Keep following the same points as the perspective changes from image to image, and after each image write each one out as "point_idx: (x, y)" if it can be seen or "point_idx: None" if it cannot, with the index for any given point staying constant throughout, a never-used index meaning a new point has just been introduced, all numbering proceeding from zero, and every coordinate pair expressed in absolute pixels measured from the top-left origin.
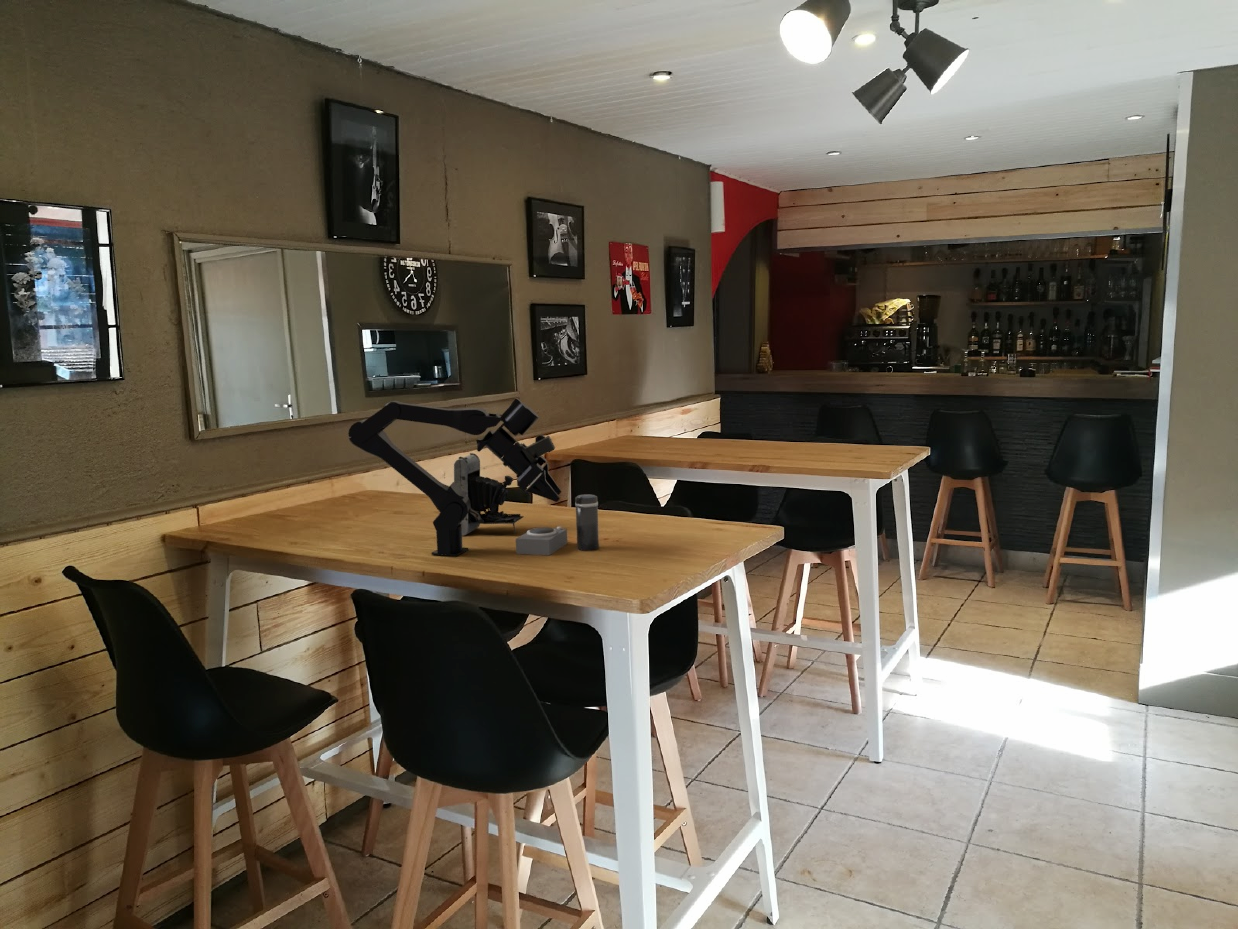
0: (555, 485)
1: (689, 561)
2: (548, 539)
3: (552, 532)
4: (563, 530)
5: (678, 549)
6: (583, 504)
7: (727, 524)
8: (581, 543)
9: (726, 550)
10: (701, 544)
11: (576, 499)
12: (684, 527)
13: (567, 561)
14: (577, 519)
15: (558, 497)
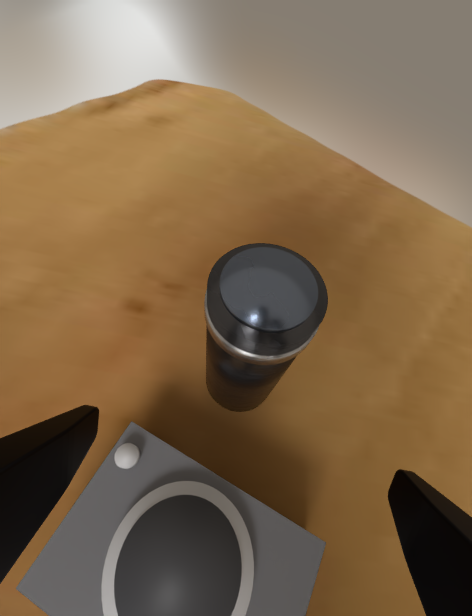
0: (50, 451)
1: (398, 218)
2: (313, 542)
3: (228, 508)
4: (155, 441)
5: (300, 207)
6: (317, 327)
7: (126, 102)
8: (267, 395)
9: (322, 157)
10: (269, 170)
11: (288, 345)
12: (109, 150)
13: (393, 473)
14: (269, 380)
15: (423, 483)
